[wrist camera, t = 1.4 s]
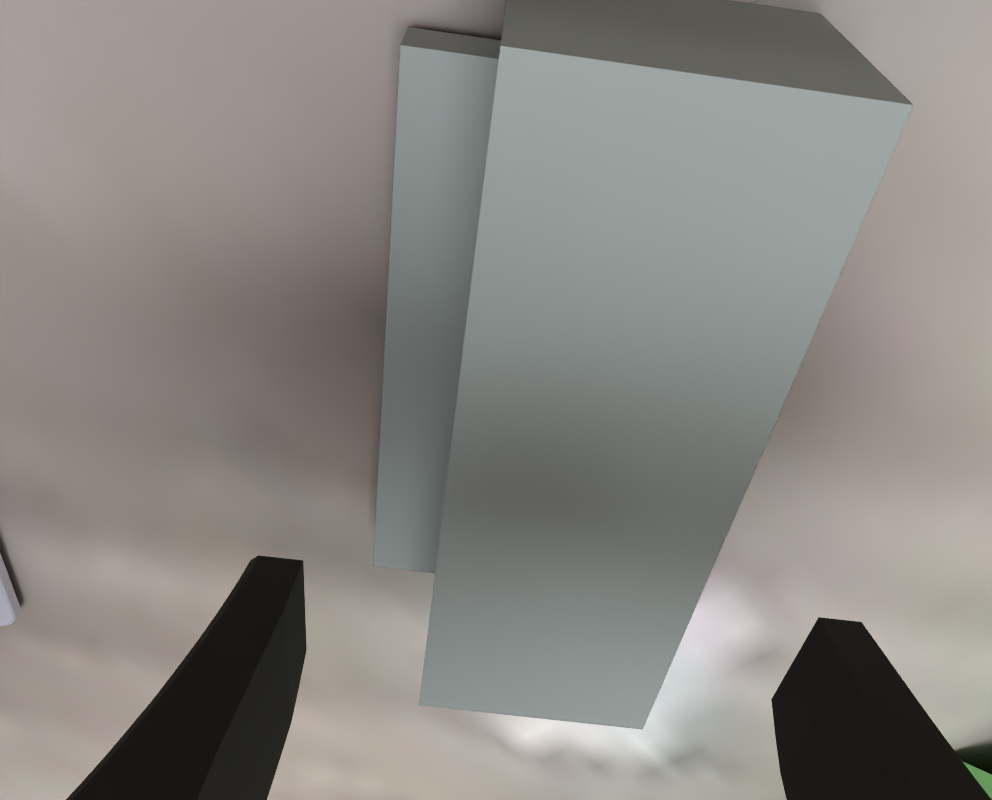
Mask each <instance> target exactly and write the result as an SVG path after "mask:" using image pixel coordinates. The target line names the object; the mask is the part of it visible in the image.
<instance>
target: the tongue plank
mask: <svg viewBox="0 0 992 800" xmlns="http://www.w3.org/2000/svg"><path fill="white" fill-rule="evenodd" d="M912 108H913V104H912V103H911V102H910V101H909V100H908V99H907V98H906V97H905V96H904V95H903V94H902V93H901V92H900V91H899V90H898V89H897V88H896V87H895V86H894V85H893V84H892V83H891V82H890V81H889V80H888V79H887V78H886V77H885V76H883V75H882V74H881V73H880V72H879V71H878V70H877V69H876V68H875V67H874V66H873V65H872V64H871V63H870V62H869V61H868V60H867V59H866V58H865V57H864V56H863V55H862V54H861V53H860V52H859V51H858V50H857V49H856V48H855V47H854V46H853V45H852V44H851V43H850V42H849V41H848V40H847V39H846V38H845V37H844V36H843V35H842V34H841V33H840V32H839V31H838V30H837V29H836V28H835V27H834V26H833V25H832V24H831V23H830V22H829V21H828V20H827V19H826V18H825V17H823V16H822V15H821V14H818V13H812V12H805V11H798V10H791V9H784V8H778V7H771V6H764V5H757V4H750V3H744V2H737V1H730V0H506V7H505V15H504V23H503V30H502V38H501V40H495V39H488V38H481V37H474V36H467V35H460V34H453V33H446V32H439V31H432V30H425V29H418V28H411V27H408V30H407V32H406V34H405V36H404V38H403V41H402V43H401V46H400V64H399V83H398V102H397V121H396V140H395V159H394V178H393V197H392V216H391V235H390V254H389V273H388V291H387V310H386V329H385V348H384V367H383V386H382V405H381V424H380V443H379V462H378V481H377V500H376V518H375V537H374V556H373V566H378V567H387V568H396V569H404V570H413V571H422V572H431V573H435V580H434V588H433V596H432V604H431V612H430V620H429V628H428V636H427V644H426V652H425V660H424V669H423V677H422V685H421V693H420V701H419V705H421V706H430V707H439V708H449V709H458V710H467V711H477V712H486V713H495V714H505V715H514V716H523V717H533V718H542V719H551V720H561V721H570V722H579V723H589V724H598V725H607V726H617V727H626V728H635V729H643V727H644V725H645V722H646V720H647V718H648V715H649V713H650V711H651V708H652V706H653V704H654V702H655V699H656V697H657V695H658V692H659V690H660V688H661V685H662V683H663V681H664V679H665V676H666V674H667V672H668V669H669V667H670V665H671V662H672V660H673V658H674V656H675V653H676V651H677V649H678V646H679V644H680V642H681V639H682V637H683V635H684V633H685V630H686V628H687V626H688V623H689V621H690V619H691V616H692V614H693V612H694V609H695V607H696V605H697V603H698V600H699V598H700V596H701V593H702V591H703V589H704V586H705V584H706V582H707V580H708V577H709V575H710V573H711V570H712V568H713V566H714V563H715V561H716V559H717V557H718V554H719V552H720V550H721V547H722V545H723V543H724V540H725V538H726V536H727V534H728V531H729V529H730V527H731V524H732V522H733V520H734V517H735V515H736V513H737V510H738V508H739V506H740V504H741V501H742V499H743V497H744V494H745V492H746V490H747V487H748V485H749V483H750V481H751V478H752V476H753V474H754V471H755V469H756V467H757V464H758V462H759V460H760V458H761V455H762V453H763V451H764V448H765V446H766V444H767V441H768V439H769V437H770V435H771V432H772V430H773V428H774V425H775V423H776V421H777V418H778V416H779V414H780V411H781V409H782V407H783V405H784V402H785V400H786V398H787V395H788V393H789V391H790V388H791V386H792V384H793V382H794V379H795V377H796V375H797V372H798V370H799V368H800V365H801V363H802V361H803V359H804V356H805V354H806V352H807V349H808V347H809V345H810V342H811V340H812V338H813V336H814V333H815V331H816V329H817V326H818V324H819V322H820V319H821V317H822V315H823V313H824V310H825V308H826V306H827V303H828V301H829V299H830V296H831V294H832V292H833V289H834V287H835V285H836V283H837V280H838V278H839V276H840V273H841V271H842V269H843V266H844V264H845V262H846V260H847V257H848V255H849V253H850V250H851V248H852V246H853V243H854V241H855V239H856V237H857V234H858V232H859V230H860V227H861V225H862V223H863V220H864V218H865V216H866V214H867V211H868V209H869V207H870V204H871V202H872V200H873V197H874V195H875V193H876V190H877V188H878V186H879V184H880V181H881V179H882V177H883V174H884V172H885V170H886V167H887V165H888V163H889V161H890V158H891V156H892V154H893V151H894V149H895V147H896V144H897V142H898V140H899V138H900V135H901V133H902V131H903V128H904V126H905V124H906V121H907V119H908V117H909V115H910V112H911V110H912Z"/></svg>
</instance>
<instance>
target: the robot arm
mask: <svg viewBox="0 0 992 800" xmlns="http://www.w3.org/2000/svg"><path fill="white" fill-rule="evenodd" d="M19 613H20V605H19V602H18V600H17V597H16V594H15V592H14V589H13V586H12V583H11V581H10V578H9V575H8V573H7V570H6V567H5V565H4V562H3V559H2V556H1V554H0V626H6V625H10V624H12V623H13V622H14V621H15V620H16V618H17V616H18V615H19ZM305 654H306V626H305V598H304V571H303V561H302V560H293V559H284V558H275V557H266V556H257V557H256V558H254V559H252V560H251V561H250V562H249V564H248V566H247V567H246V569H245V571H244V572H243V574H242V576H241V577H240V579H239V581H238V582H237V584H236V585H235V587H234V589H233V590H232V592H231V593H230V595H229V596H228V598H227V599H226V601H225V602H224V604H223V605H222V607H221V608H220V610H219V611H218V613H217V614H216V616H215V617H214V619H213V620H212V621H211V623H210V624H209V626H208V627H207V629H206V630H205V631H204V633H203V634H202V636H201V637H200V638H199V640H198V641H197V643H196V644H195V645H194V647H193V648H192V649H191V651H190V652H189V653H188V655H187V656H186V657H185V659H184V660H183V661H182V663H181V664H180V665H179V666H178V668H177V669H176V670H175V672H174V673H173V674H172V676H171V677H170V678H169V680H168V681H167V682H166V684H165V685H164V686H163V688H162V689H161V690H160V691H159V693H158V694H157V695H156V696H155V698H154V699H153V700H152V701H151V703H150V704H149V705H148V706H147V708H146V709H145V710H144V711H143V712H142V713H141V715H140V716H139V717H138V718H137V719H136V721H135V722H134V723H133V724H132V725H131V727H130V728H129V729H128V730H127V731H126V733H125V734H124V735H123V736H122V737H121V738H120V740H119V741H118V742H117V743H116V744H115V746H114V747H113V748H112V749H111V750H110V752H109V753H108V754H107V755H106V756H105V757H104V758H103V760H102V761H101V762H100V763H99V764H98V765H97V766H96V767H95V769H94V770H93V771H92V772H91V773H90V774H89V775H88V776H87V777H86V779H85V780H84V781H83V782H82V783H81V784H80V785H79V786H78V787H77V788H76V790H75V791H74V792H73V793H72V794H71V795H70V796H69V797H68V798H67V799H66V800H267V797H268V794H269V791H270V788H271V785H272V782H273V779H274V775H275V772H276V769H277V766H278V763H279V760H280V756H281V753H282V750H283V747H284V744H285V741H286V737H287V734H288V731H289V728H290V725H291V721H292V716H293V712H294V707H295V702H296V698H297V693H298V688H299V684H300V679H301V674H302V669H303V664H304V659H305ZM772 708H773V717H774V726H775V735H776V743H777V750H778V758H779V765H780V772H781V777H782V781H783V785H784V790H785V794H786V798H787V800H992V799H991V798H990V797H989V796H988V794H987V793H986V792H985V790H984V789H983V788H982V787H981V785H980V784H979V783H978V781H977V780H976V779H975V777H974V776H973V775H972V773H971V772H970V771H969V769H968V768H967V767H966V765H965V764H964V763H963V761H962V760H961V759H960V758H959V756H958V755H957V754H956V752H955V751H954V750H953V748H952V747H951V746H950V744H949V743H948V742H947V740H946V739H945V738H944V736H943V735H942V734H941V732H940V731H939V729H938V728H937V727H936V725H935V724H934V723H933V721H932V720H931V719H930V717H929V716H928V714H927V713H926V712H925V710H924V709H923V707H922V706H921V705H920V703H919V702H918V701H917V699H916V698H915V696H914V695H913V694H912V692H911V691H910V689H909V688H908V687H907V685H906V684H905V682H904V681H903V680H902V678H901V677H900V675H899V674H898V673H897V671H896V670H895V668H894V667H893V666H892V664H891V663H890V661H889V660H888V659H887V657H886V656H885V654H884V653H883V652H882V650H881V649H880V647H879V646H878V645H877V643H876V642H875V640H874V639H873V638H872V636H871V635H870V633H869V632H868V631H867V629H866V628H865V627H864V625H863V624H862V622H855V621H846V620H837V619H828V618H818V620H817V621H816V623H815V625H814V627H813V628H812V630H811V632H810V634H809V635H808V637H807V639H806V640H805V642H804V644H803V646H802V647H801V649H800V651H799V653H798V654H797V656H796V658H795V660H794V661H793V663H792V665H791V667H790V668H789V670H788V672H787V673H786V675H785V677H784V679H783V680H782V682H781V684H780V686H779V687H778V689H777V691H776V693H775V694H774V696H773V698H772Z"/></svg>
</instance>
